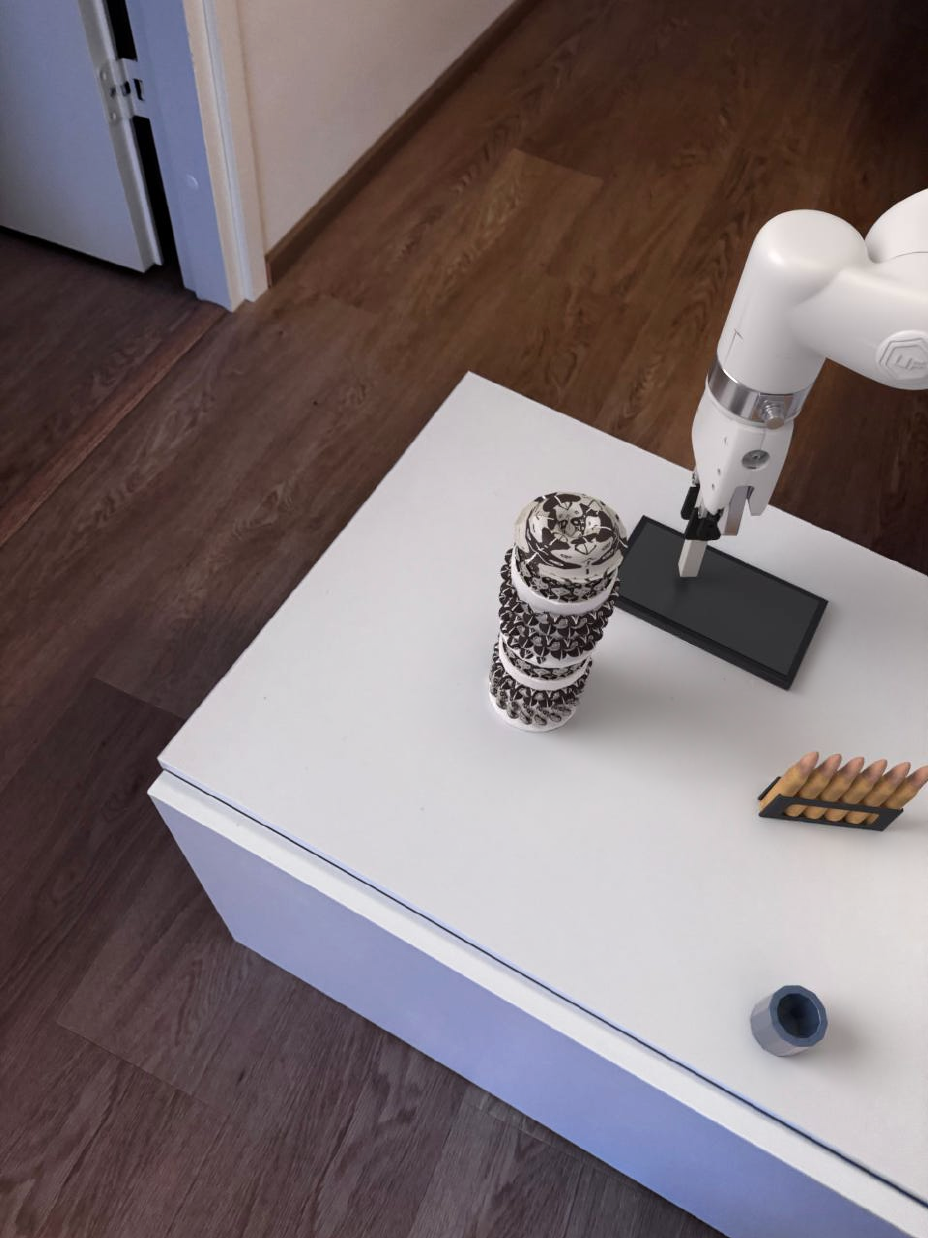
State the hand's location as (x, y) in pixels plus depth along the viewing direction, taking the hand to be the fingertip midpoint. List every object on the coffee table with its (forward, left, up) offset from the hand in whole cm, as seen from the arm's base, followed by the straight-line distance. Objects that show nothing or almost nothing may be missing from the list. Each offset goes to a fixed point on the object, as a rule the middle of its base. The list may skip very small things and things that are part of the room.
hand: (699, 526), depth 88 cm
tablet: (-3, +2, -9) cm, 10 cm away
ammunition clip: (-9, +24, -10) cm, 27 cm away
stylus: (-1, 0, -8) cm, 8 cm away
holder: (-2, +41, -9) cm, 42 cm away
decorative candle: (+15, +12, -10) cm, 21 cm away
